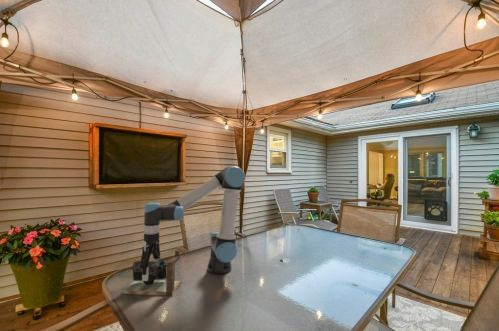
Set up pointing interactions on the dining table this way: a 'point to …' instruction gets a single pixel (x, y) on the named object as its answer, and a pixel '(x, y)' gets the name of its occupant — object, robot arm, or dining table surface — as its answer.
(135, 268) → the camera
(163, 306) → the dining table surface
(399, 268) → the dining table surface
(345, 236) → the dining table surface
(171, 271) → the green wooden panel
